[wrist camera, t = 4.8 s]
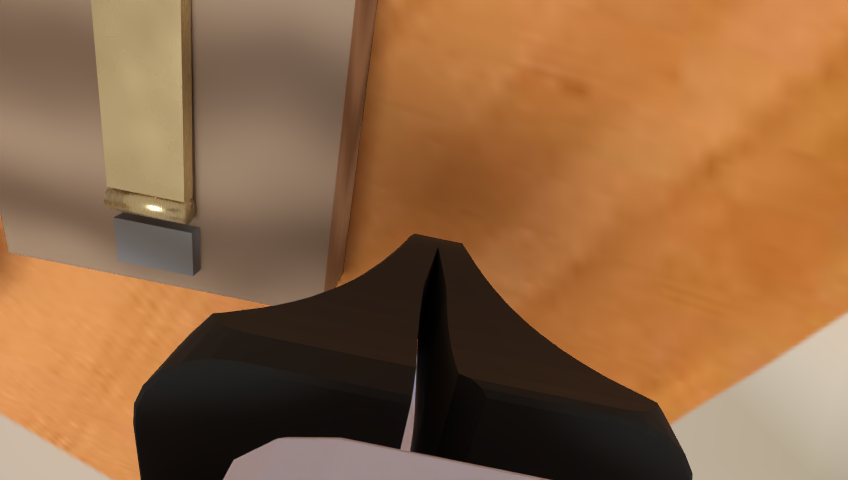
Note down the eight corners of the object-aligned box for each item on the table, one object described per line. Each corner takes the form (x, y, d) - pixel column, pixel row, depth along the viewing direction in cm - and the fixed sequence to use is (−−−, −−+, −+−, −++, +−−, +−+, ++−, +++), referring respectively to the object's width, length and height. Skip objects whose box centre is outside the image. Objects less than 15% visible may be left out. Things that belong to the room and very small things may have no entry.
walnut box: (342, 272, 23) (308, 339, 18) (79, 220, 23) (-33, 271, 18) (397, -159, 16) (366, -259, 11) (14, -239, 16) (-207, -379, 11)
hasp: (195, 219, 18) (181, 228, 17) (123, 205, 18) (105, 212, 17) (193, -104, 14) (174, -115, 13) (99, -123, 14) (73, -136, 13)
